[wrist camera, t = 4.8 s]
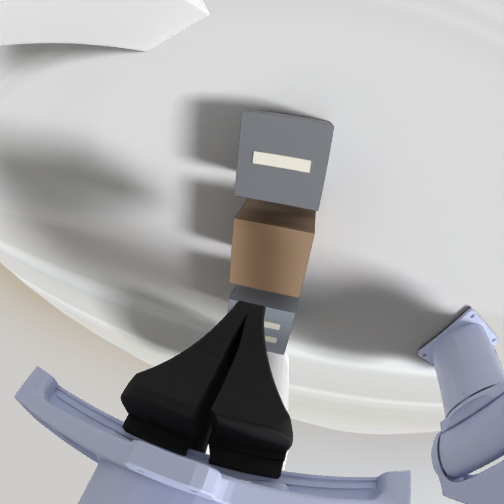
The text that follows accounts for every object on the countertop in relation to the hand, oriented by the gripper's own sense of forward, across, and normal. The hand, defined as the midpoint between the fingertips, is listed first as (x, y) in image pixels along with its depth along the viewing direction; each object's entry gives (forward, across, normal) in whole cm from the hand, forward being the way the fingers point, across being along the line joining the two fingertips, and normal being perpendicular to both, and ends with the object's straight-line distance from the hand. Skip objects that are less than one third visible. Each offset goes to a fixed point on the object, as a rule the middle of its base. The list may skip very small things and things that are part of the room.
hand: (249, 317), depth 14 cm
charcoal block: (+10, 0, -6) cm, 12 cm away
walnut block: (+10, 0, 0) cm, 10 cm away
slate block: (+10, 0, +6) cm, 12 cm away
